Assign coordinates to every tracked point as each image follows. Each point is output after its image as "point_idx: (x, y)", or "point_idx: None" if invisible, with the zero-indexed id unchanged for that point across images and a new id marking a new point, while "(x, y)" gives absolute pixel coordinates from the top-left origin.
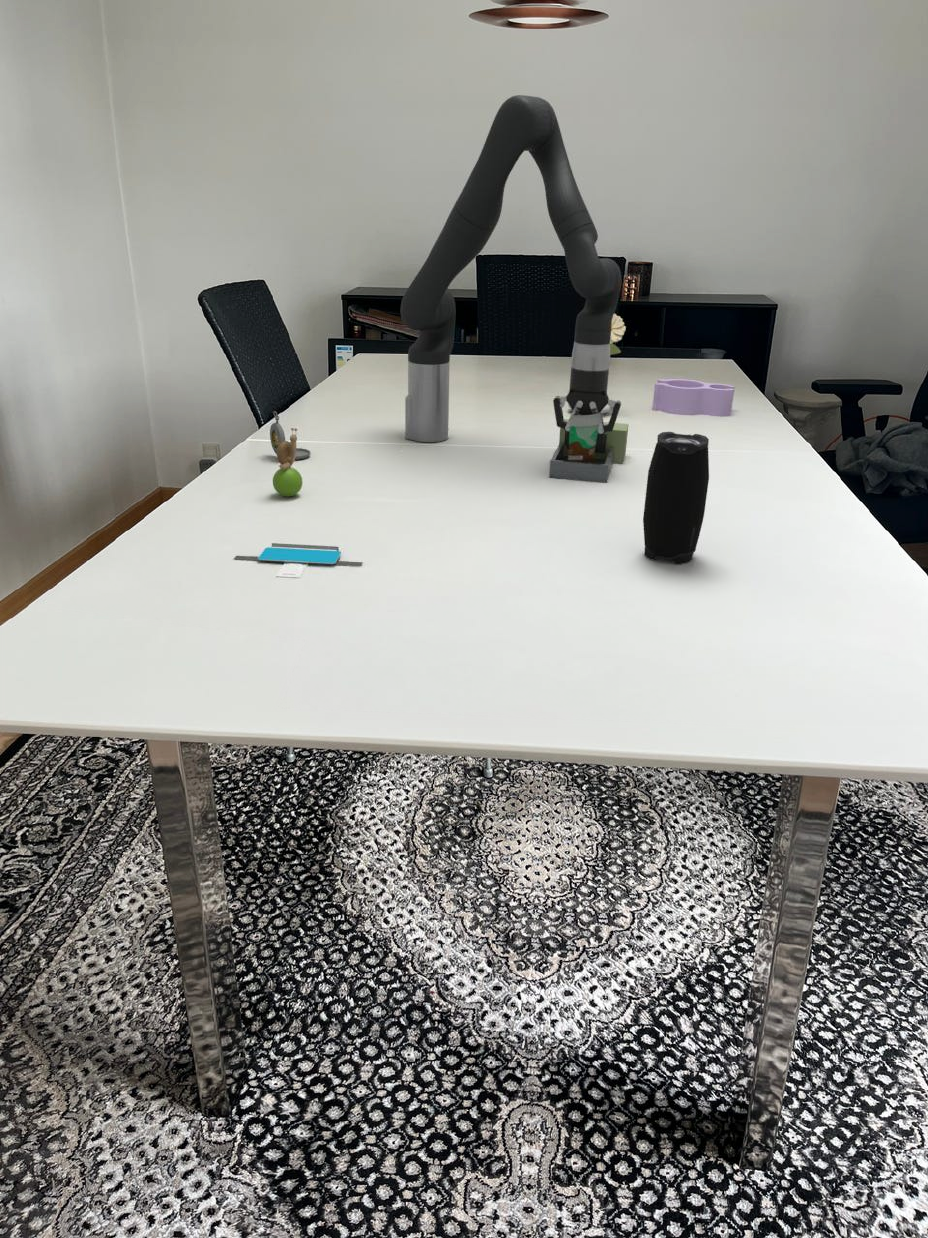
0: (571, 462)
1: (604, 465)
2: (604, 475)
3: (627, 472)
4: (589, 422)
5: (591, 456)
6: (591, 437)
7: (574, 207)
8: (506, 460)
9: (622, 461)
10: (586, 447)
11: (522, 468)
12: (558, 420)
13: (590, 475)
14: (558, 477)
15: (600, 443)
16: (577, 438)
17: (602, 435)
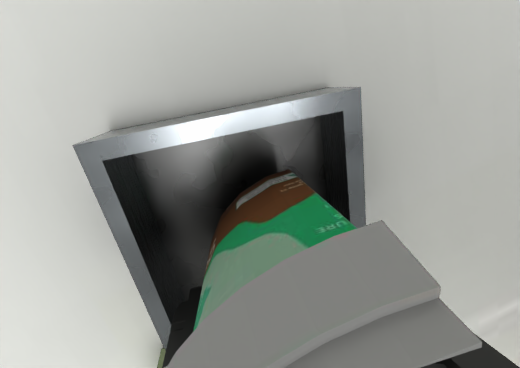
0: (259, 108)
1: (94, 141)
2: (110, 133)
3: (107, 281)
4: (199, 362)
5: (211, 247)
6: (205, 294)
7: None
8: (484, 207)
9: (163, 353)
10: (225, 237)
11: (431, 152)
12: (480, 354)
13: (171, 120)
14: (295, 94)
15: (182, 321)
16: (277, 224)
17: (167, 363)
